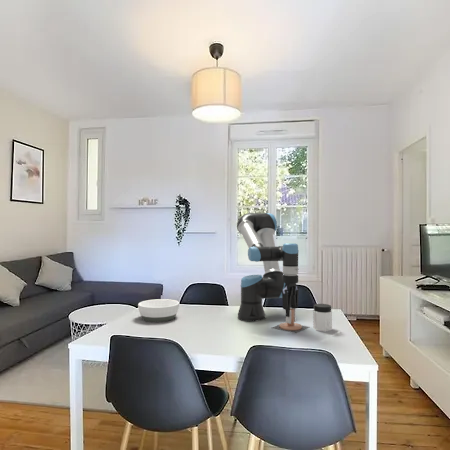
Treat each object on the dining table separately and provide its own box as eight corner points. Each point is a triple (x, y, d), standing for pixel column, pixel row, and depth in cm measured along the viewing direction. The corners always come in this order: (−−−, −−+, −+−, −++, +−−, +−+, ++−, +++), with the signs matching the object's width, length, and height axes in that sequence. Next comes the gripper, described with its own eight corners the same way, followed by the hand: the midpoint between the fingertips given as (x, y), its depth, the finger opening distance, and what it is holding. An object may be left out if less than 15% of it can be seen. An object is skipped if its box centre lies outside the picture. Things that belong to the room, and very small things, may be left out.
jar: (322, 333, 169) (322, 308, 169) (309, 329, 176) (309, 304, 176) (335, 330, 174) (335, 305, 174) (322, 326, 181) (322, 302, 181)
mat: (270, 329, 177) (270, 327, 177) (285, 323, 187) (285, 322, 187) (296, 334, 167) (296, 333, 167) (310, 328, 178) (310, 327, 178)
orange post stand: (275, 327, 177) (275, 309, 177) (286, 323, 185) (286, 305, 185) (294, 331, 170) (294, 312, 170) (306, 327, 178) (306, 308, 178)
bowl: (129, 321, 192) (129, 305, 192) (153, 312, 213) (153, 297, 213) (165, 325, 184) (165, 309, 184) (186, 315, 205) (186, 300, 205)
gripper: (288, 277, 169) (288, 327, 169) (305, 273, 181) (305, 320, 181) (275, 275, 174) (275, 324, 174) (292, 272, 186) (292, 317, 186)
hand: (290, 322), depth 177 cm, fingers open, 3 cm apart
